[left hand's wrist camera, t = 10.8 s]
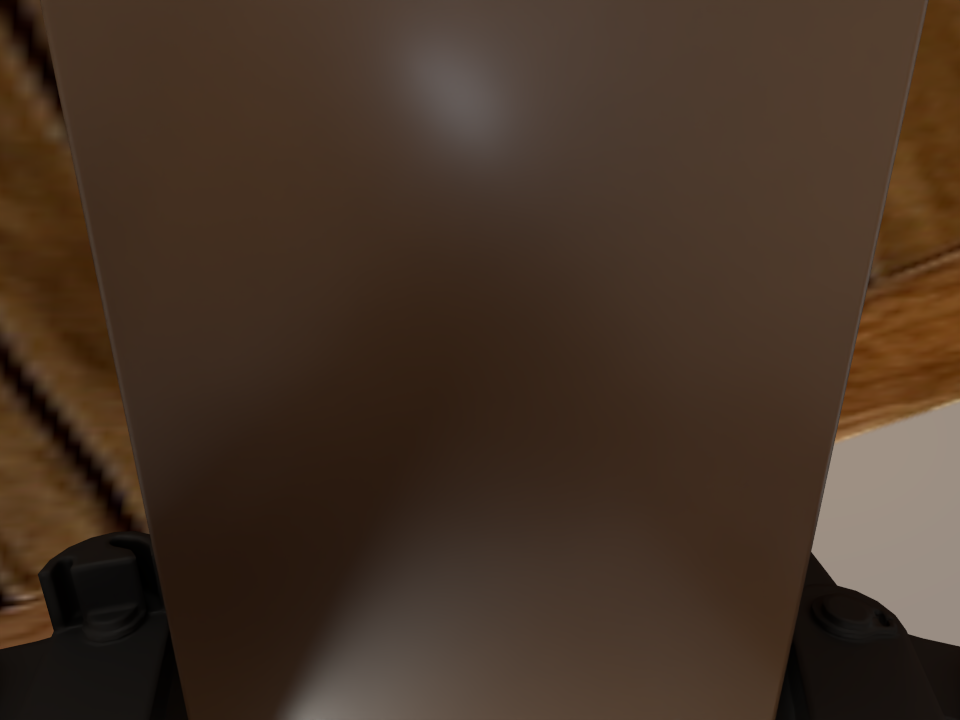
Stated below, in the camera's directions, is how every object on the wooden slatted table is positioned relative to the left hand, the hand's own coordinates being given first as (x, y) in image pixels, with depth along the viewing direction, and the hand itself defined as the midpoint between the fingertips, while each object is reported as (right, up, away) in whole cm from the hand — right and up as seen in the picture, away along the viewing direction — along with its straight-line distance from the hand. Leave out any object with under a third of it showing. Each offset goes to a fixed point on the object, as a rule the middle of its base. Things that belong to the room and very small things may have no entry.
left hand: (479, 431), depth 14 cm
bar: (0, +10, -3) cm, 11 cm away
